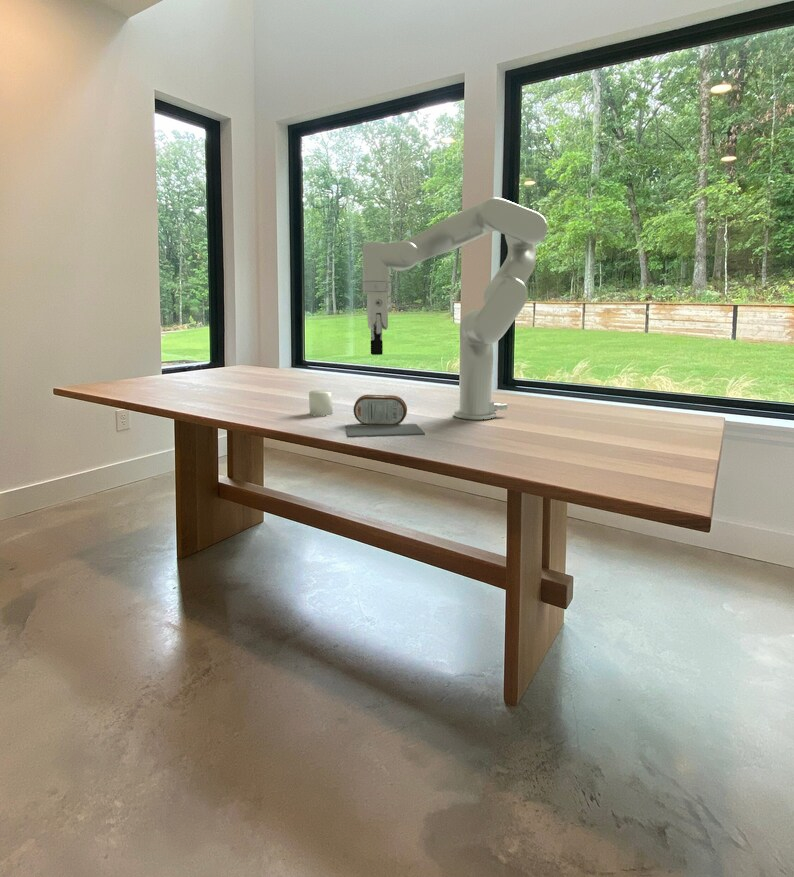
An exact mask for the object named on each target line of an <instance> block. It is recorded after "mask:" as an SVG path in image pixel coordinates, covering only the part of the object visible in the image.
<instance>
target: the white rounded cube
mask: <svg viewBox="0 0 794 877" xmlns="http://www.w3.org/2000/svg"><path fill="white" fill-rule="evenodd" d="M308 399H309V400H308V401H309V402H308V404H309V408H308V409H309V416H311V415H315V416H314V417H318V416H322V417H326V416H325V415H330V416H332V415H333V414H334V413H333V391H332V390H328V389H327V390H326V389H325V390H324V389H319V390H318V389H315V390H310V391H309V392H308ZM331 414H332V415H331ZM323 415H324V416H323Z"/></svg>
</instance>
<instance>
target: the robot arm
mask: <svg viewBox="0 0 794 877" xmlns="http://www.w3.org/2000/svg"><path fill="white" fill-rule="evenodd" d="M493 232H497V233H500V234H503V235H504V239H505V242H506V245H507V254H506V257H505V258H506V259H504V262H503V263H502V265H501V267H500V268H499V270H498V271H497V272H496V274H495V275H494V276H493V278H492V279H491V281H490V283H488V285H487V286H486V288H485V290H484V291H483V302H484V305H483V307H482V308H477V309H472V310H470V311H468V312H466V313H465V314H464V315H463V316H462V318H461V320H460V323H459V340H460V374H459V377H460V378H459V380H460V381H459V383H460V384H459V409H457V410H454V413H453V415H454V416H455V417H456V418H459V419H462V420H463V419H464V420H474V421H475V420H477V421H478V420H479V421H482V420H483V419H484V420H490V419H491V418H492V419H494V418H496V417H497V411H506V410H507V409H508V405H507V403H500V402H499V403H498V402H497V403H496V402H494V400H492V397H493V395H492V394H493V372H494V371H493V370H494V369H493V368H494V347H493V344H495V343H497V342H498V341H499V340H500V339H501V338H503V337H504V335H505V334H506V333H507V331H508V330H509V329H510V327H511V326H512V324H513V322H514V321H515V320H516V318H517V317H518V315H519V314H520V312H521V311H522V310H523V308H524V306H525V304H526V302H527V299H528V291H527V286H526V283H527V282H528V279H529V278H530V276H531V275H532V273H533V271H534V269H535V266H536V262H537V251H536V250H537V249H536V245H538V244H540V242H542V241H544V239H545V238H546V236H547V233H548V223H547V220H546V218H545V216H543V215H542V214H541V213H540V212H538V211H535V210H533V209H530V208H527V207H525V206H522V205H520V204H517V203H515V202H512V201H510V200H507V199H505V198H501V197H497V196H495V197H490V198H487V199H485V200H483V201H481V202H478V203H477V204H475V205H472V206H471V207H468V208H467V209H464V210H462V211H460V212H458V213H455V214H453V215H450V216H449V217H446V218H445V219H443V220H440V221H438V222H436V223H435V224H434V225H432V226H429V228H427V229H425V230H423V231H421V232H419V233H418V234H415V235H413V236H411V237H409V238H407V239H404V240H402V241H395V242H394V241H393V242H384V241H367V242H364V244H363V245H362V294H363V295H366V301H367V302H366V306H367V307H366V313H367V314H366V315H367V316H366V317H367V318H366V320H367V327H368V329H370V355H372V356H381V355H382V356H383V353H384V352H383V345H384V344H383V330H388V329H389V318H388V316H389V312H388V311H389V310H388V309H389V308H388V295H389V294H391V291H390V290H391V288H390V286H391V285H390V284H391V283H390V280H391V278H390V277H391V274H390V273H391V271H390V270H391V269H392V270H394V271H396V272H402V271H407V270H409V269H412V268H414V267H415V266H416V265H417V264H419V263H422V262H424V261H426V260H428V259H430V258H433V257H436V256H439V255H442V254H446V253H449V252H451V251H454V250H457V249H458V248H460V247H462V246H464V245H465V246H466V244H467V245H468V244H469V243H470V242H473V241H475V240H478V239H479V238H482V237H483V236H486V235H488V234H490V233H493Z"/></svg>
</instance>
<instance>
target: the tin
mask: <svg viewBox="0 0 794 877" xmlns="http://www.w3.org/2000/svg"><path fill="white" fill-rule="evenodd" d="M407 413H408V407H407V404H406V402H405V401H404V400H403V398H401V397H400V396H397V395H395V394H394V395H393V394H392V395H391V394H389V395H387V394H364V395H361V396H360V397H358V399H357V400H356V401H355V403H354V406H353V415H354V418H355V419H356V421H358V422H359V423H360V424H362V425H396V424H401V423H402V422H404V420H405V418H406V416H407Z"/></svg>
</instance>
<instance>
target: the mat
mask: <svg viewBox="0 0 794 877" xmlns="http://www.w3.org/2000/svg"><path fill="white" fill-rule="evenodd" d="M344 427H345V428H344V429H345V431H346V434H347V437H348V438H355V437H354V436H358V437H357V438H360V437H359V436H367V437H391V436H393V437H394V436H395V435H398V436H418V435H419V436H420V435H422V436H423V435H424V436H425V435H426V432H425V431H424V430H423V429H422V428H421V427H420V426H419V425H418V424H417V423H407V424H405V423H403V424H401V423H399V424H396V425H365V424H362V425H345V426H344Z"/></svg>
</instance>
